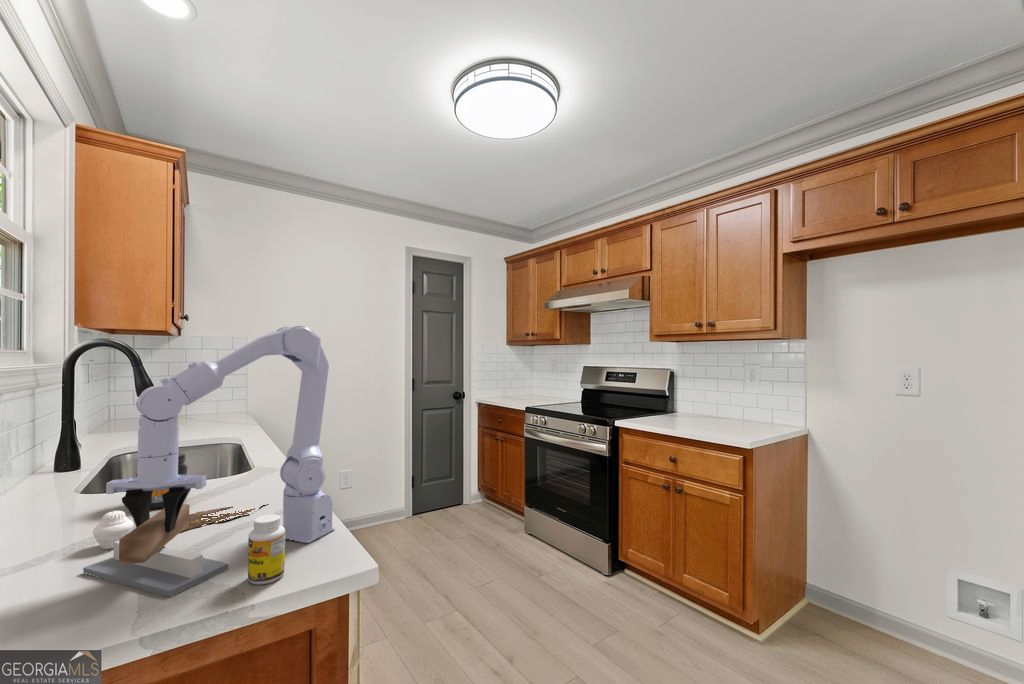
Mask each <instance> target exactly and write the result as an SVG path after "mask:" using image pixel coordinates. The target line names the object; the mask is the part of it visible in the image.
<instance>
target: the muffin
mask: <svg viewBox="0 0 1024 684" xmlns="http://www.w3.org/2000/svg"><path fill="white" fill-rule="evenodd" d="M134 525H135V522H134V521H133V520H131V519H129V517H127V516H126V512H125V511H122V510H112V511H108V512H106V513H105V514H103V516H102V518H101V520H100V521H99V522H98V524H97V525H96V526H95V527H94V528H93V530H92V535H93V537H94V539H95V541H96V542H97V543H98V544H99V546H100V547H101V548H102V549H103V550H114V542H116V541H119V539H121V538H122V537H124V536H125V535H127V534H128V533H129V532H131V531H132V530H133V528H134Z"/></svg>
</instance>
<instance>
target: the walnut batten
mask: <svg viewBox="0 0 1024 684" xmlns="http://www.w3.org/2000/svg"><path fill="white" fill-rule="evenodd" d="M189 515H190V503H188V504H187V503H183V505H182V507H181V509H180V512H179V515H178V518H177V522H176V526H175V529H173V530H172V531H171V532H167V533H166V532H165V508H162V510H160V511H158V512H157V513H156V514H153V516H150V519H148V520H147V521H145V522H144V523H142V524H141V525H140V526H138V527H137V528H136V527H135V528H134V529H132V531H131V532H129V533H128V534H127V535H125V536H124V537H122V538H121V539H119V565H121V564H132V563H144V562H146V561H147V560H148V559H149V558H150V557H151V556H153V555H154V554H155V553H156V552H157V551H159V550H160V549H161V548H162V547H163V546H165V545H167V544H168V543H169V542H170V541H172V540H173V539H174V538H175V537H176V536H177V535H179V534H180V533H181V531H182V530H183V529H185V528H186V527H187V526H188V525H189ZM182 532H183V531H182Z"/></svg>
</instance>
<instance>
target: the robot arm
mask: <svg viewBox="0 0 1024 684" xmlns="http://www.w3.org/2000/svg"><path fill="white" fill-rule="evenodd" d="M321 340H322V339H321V337H320V336H319V335H318V334H317V333H316V332H315V331H314V330H313V329H311V328H310V327H308V326H306V325H295V326H283V327H280V328H278V329H276V330H275V331H270V332H268V333H265V334H263V335H260V336H258V337H256V338H255V339H253V340H251V341H250V342H248V343H247V344H244V345H243V346H241V347H240V348H237V349H236V350H234V351H232V352H231V353H229V354H227V355H225V356H223V357H222V358H220V359H219V360H216V361H215V362H210V361H206V360H201V361H200V362H198V363H197V362H196V361H193V362H191V363H188V365H187V367H188V368H187V369H184V370H183V371H180V372H179V373H177V374H175V375H173V376H171V377H170V378H168V377H164V378H162V379H160V382H161V384H162V385H154V386H150V387H147V388H146V389H144V390H143V391H141V393H140V395H139V396H138V397H137V401H136V402H135V405H136V408H137V410H138V412H139V413H140V416H139V419H138V425H139V428H138V429H137V470H136V471H137V478H136V477H134V478H133V477H130V478H123V479H112V480H110V481H108V482H106V485H105V486H106V491H105V492H106V493H105V494H106V495H113V494H115V493H125V495H124V496H123V497H121V502H122V504H123V506H125V507H126V509H127V510H128V511H129V513H130V515H131V517H132V519H133V523H134V525H135V528H137V527H138V526H140V525H141V524H142V523H144V522H145V521H147V520H148V519H150V518H151V516H150V515H151V514H150V512H151V511H150V503H151V497H152V493H153V490H169V492H166V493H165V494H163V495H162V498H163V502H164V508H165V532H166V533H167V532H171V531H172V530H173V529H175V526H176V522H177V518H178V515H179V512H180V509H181V507H182V505H183V504H185V503H184V502H185V500H186V499H187V497H188V495H189V493H190V492H191V489H195V490H202V489H203V488H205V487H206V486H207V475H206V474H204V475H202V474H201V475H199V474H196V475H193V474H191V475H190V474H187V475H178V452H179V438H180V437H179V433H180V429H179V426H178V421H179V420H178V415H179V414H180V412H181V411H182V408H183V406H189V405H191V404H193V403H195V402H196V401H198V400H200V399H202V398H203V397H205V396H207V395H208V394H209V395H210V393H212V392H214V391H215V390H217V389H220V388H221V387H222V386H223V383H224V380H225V378H226V376H229V375H230V374H232V373H234V372H236V371H238V370H240V369H242V368H245V367H246V366H248V365H250V364H251V363H254V362H255V361H257V360H259V359H261V358H263V357H265V356H279V355H280V356H282V357H284V358H286V359H288V360H290V361H291V362H292V363H293V364H294V365H295V366H296V367H297V368H298V369H299V370H300V372H301V375H300V376H301V379H300V384H299V392H298V400H297V407H296V415H295V422H294V430H293V438H292V444H291V446H290V447H289V448H288V450H287V452H286V453H287V454H286V458H285V461H284V462H283V464H282V465H281V467H280V471H279V476H280V480H281V481H282V482H283V483H285V485H284V489H283V491H282V493H283V494H282V496H283V497H282V526H283V527H284V528H285V540H287V539H289V540H288V541H292V540H294V541H293V542H298V541H299V543H304V544H309V543H311V542H313V541H315V540H317V539H319V538H321V537H323V536H324V535H327V534H328V533H330V532H332V531H334V530H335V529H336V527H335V526H333V499H332V498H331V496H330V495H329V494H327V493H324V492H323V491H322V489H321V487H322V486H323V485H324V482H325V480H326V479H325V478H326V472H325V469H324V466H323V454H322V451H321V448H320V441H321V432H322V431H321V430H322V426H323V425H322V423H323V415H324V408H325V407H324V406H325V402H326V401H325V400H326V392H327V384H328V377H329V370H330V369H329V368H330V366H329V361H328V359H327V356H326V354H325V351H324V348H323V346H322V345H321ZM164 508H163V509H164Z"/></svg>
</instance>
